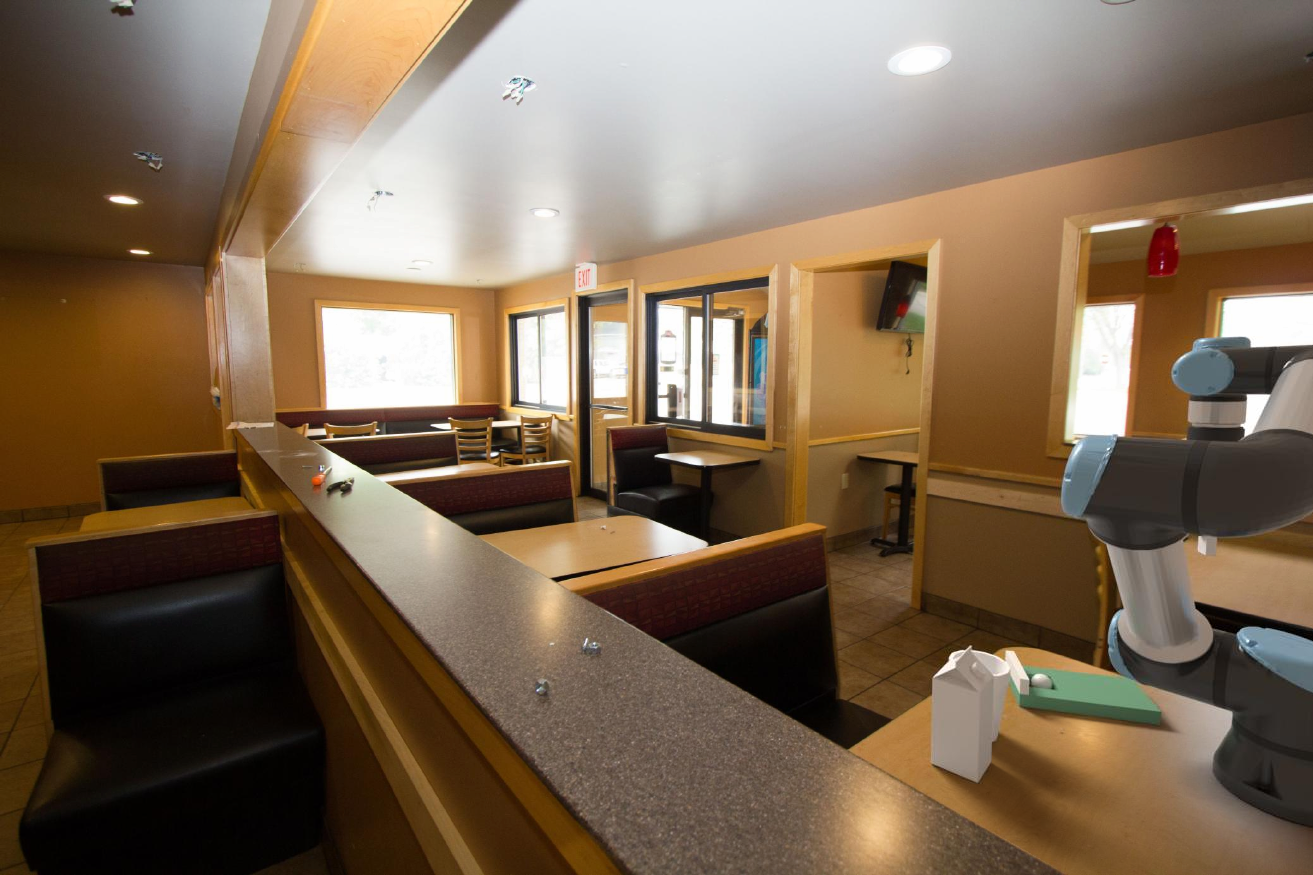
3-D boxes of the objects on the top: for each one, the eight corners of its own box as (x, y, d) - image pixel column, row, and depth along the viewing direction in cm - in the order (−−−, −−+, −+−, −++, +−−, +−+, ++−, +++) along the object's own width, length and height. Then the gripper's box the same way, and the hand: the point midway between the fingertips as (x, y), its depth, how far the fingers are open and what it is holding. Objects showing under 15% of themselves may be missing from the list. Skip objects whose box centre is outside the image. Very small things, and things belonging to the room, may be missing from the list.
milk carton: (930, 764, 97) (932, 654, 95) (946, 744, 102) (948, 639, 100) (977, 784, 92) (980, 668, 90) (991, 762, 97) (994, 652, 95)
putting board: (1160, 724, 106) (1162, 695, 105) (1019, 706, 113) (1020, 678, 112) (1131, 690, 117) (1132, 663, 116) (1004, 675, 124) (1005, 650, 124)
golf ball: (1058, 691, 115) (1048, 675, 115) (1041, 699, 116) (1030, 683, 116) (1052, 683, 118) (1041, 667, 119) (1035, 690, 119) (1025, 675, 120)
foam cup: (946, 739, 104) (948, 668, 102) (948, 712, 112) (949, 646, 110) (1009, 754, 99) (1012, 680, 98) (1006, 724, 107) (1008, 656, 106)
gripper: (1249, 422, 107) (1239, 549, 109) (1160, 423, 111) (1153, 545, 114) (1276, 426, 100) (1265, 562, 102) (1181, 426, 104) (1172, 557, 107)
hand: (1206, 553), depth 108 cm, fingers closed
